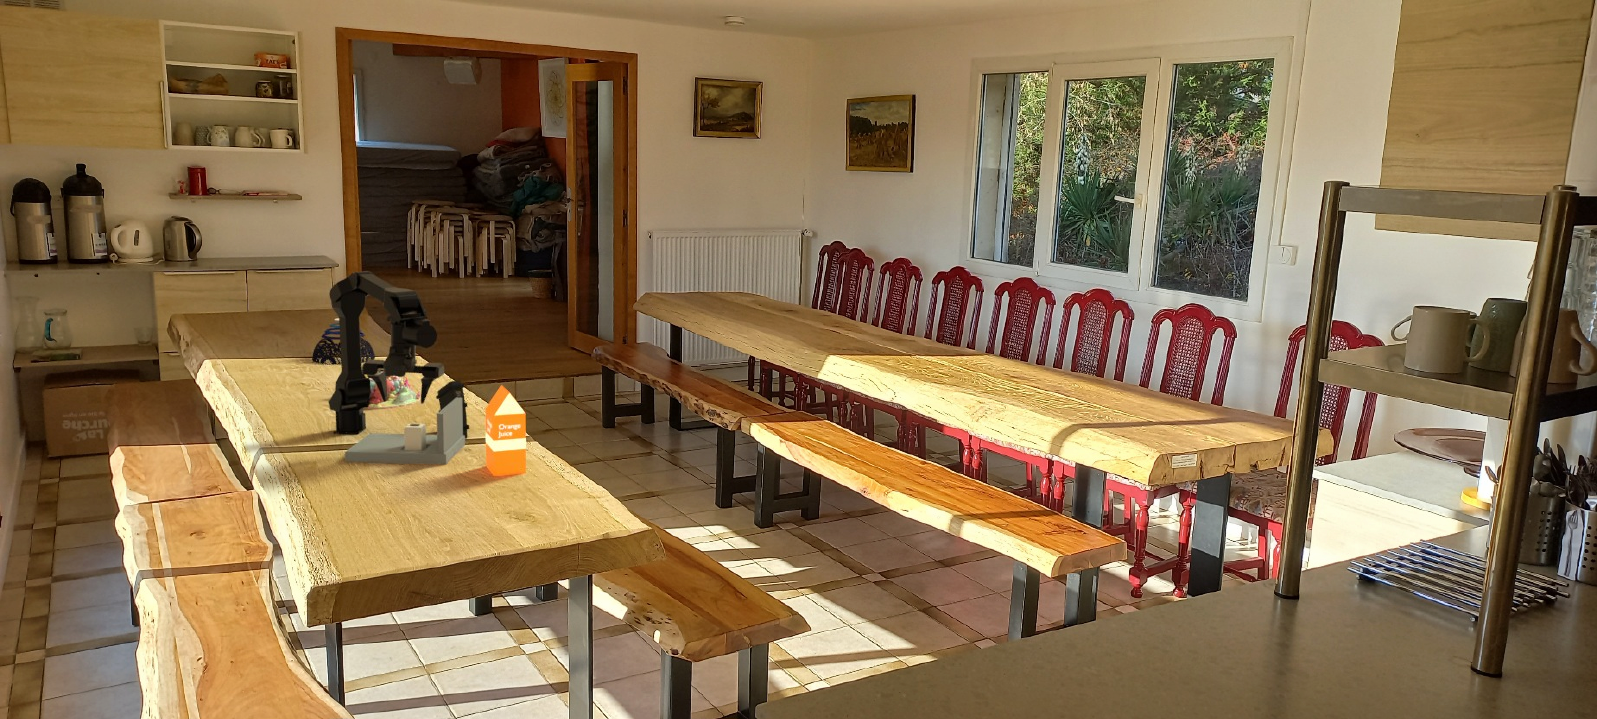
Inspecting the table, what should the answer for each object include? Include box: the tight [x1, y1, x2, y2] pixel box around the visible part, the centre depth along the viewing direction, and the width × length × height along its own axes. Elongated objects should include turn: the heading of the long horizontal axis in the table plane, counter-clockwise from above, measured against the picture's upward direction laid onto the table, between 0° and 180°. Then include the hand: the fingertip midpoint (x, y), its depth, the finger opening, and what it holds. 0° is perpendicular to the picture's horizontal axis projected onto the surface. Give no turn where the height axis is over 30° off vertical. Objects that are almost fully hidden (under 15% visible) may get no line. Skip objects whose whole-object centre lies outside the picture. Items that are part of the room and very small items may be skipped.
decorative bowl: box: [312, 317, 376, 365], centre depth 390 cm, size 20×20×14 cm
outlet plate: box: [344, 398, 466, 465], centre depth 276 cm, size 24×18×12 cm
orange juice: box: [484, 384, 527, 477], centre depth 265 cm, size 8×9×20 cm
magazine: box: [435, 380, 470, 440], centre depth 296 cm, size 4×13×15 cm, turn 39°
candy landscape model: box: [364, 371, 421, 410], centre depth 333 cm, size 25×24×9 cm
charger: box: [403, 422, 427, 450], centre depth 274 cm, size 4×4×8 cm
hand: (403, 402), depth 278 cm, fingers open, 9 cm apart
